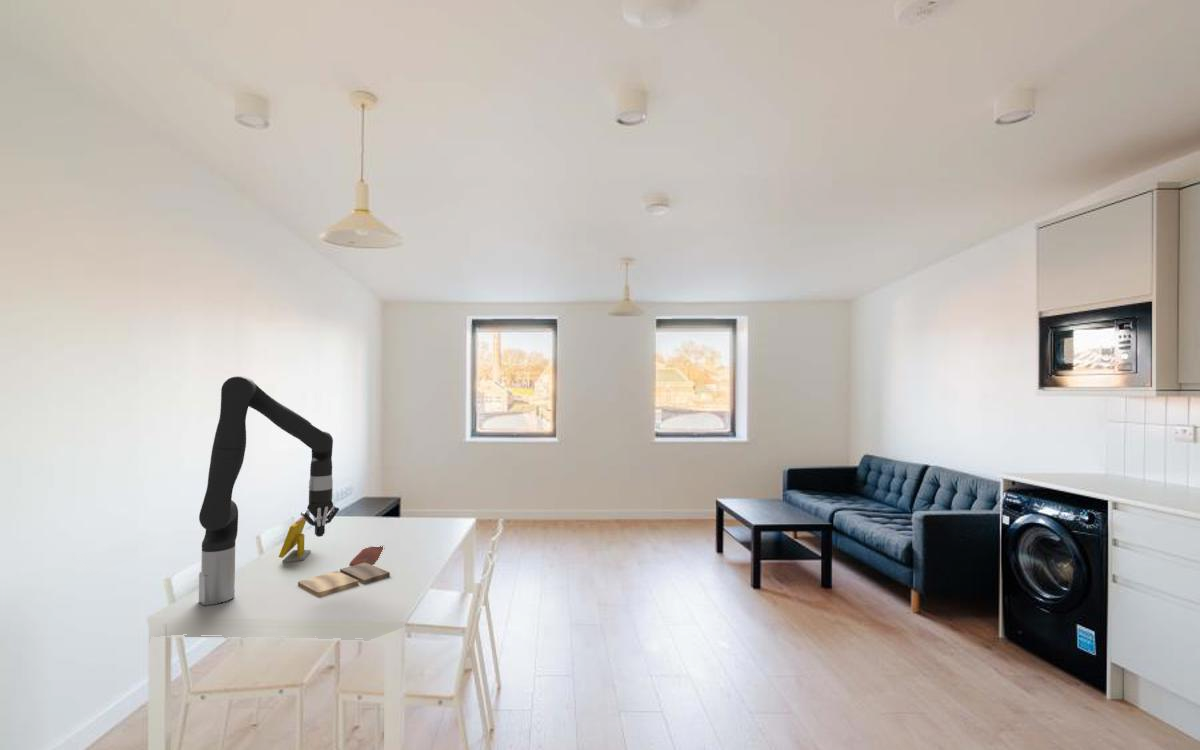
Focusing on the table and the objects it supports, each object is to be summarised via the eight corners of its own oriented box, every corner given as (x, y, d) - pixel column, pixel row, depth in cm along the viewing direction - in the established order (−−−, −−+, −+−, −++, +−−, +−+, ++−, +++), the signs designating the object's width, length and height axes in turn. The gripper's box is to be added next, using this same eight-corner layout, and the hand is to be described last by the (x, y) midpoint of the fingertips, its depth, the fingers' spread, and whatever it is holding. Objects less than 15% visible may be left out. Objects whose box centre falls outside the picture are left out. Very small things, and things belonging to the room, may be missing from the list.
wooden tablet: (374, 567, 214) (374, 562, 214) (347, 568, 212) (347, 564, 213) (388, 546, 240) (388, 543, 241) (364, 547, 239) (364, 544, 239)
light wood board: (318, 597, 182) (318, 592, 182) (297, 585, 192) (298, 581, 192) (358, 584, 193) (358, 580, 193) (337, 574, 203) (337, 570, 203)
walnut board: (363, 584, 194) (363, 580, 194) (340, 573, 205) (340, 569, 205) (389, 577, 201) (389, 572, 201) (365, 566, 213) (365, 562, 213)
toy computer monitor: (293, 550, 233) (294, 514, 233) (313, 549, 235) (314, 513, 235) (278, 565, 213) (279, 525, 214) (300, 564, 215) (300, 524, 216)
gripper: (305, 491, 186) (304, 542, 185) (344, 486, 196) (343, 534, 195) (296, 488, 190) (295, 538, 190) (334, 483, 201) (333, 530, 200)
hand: (319, 536), depth 193 cm, fingers closed
